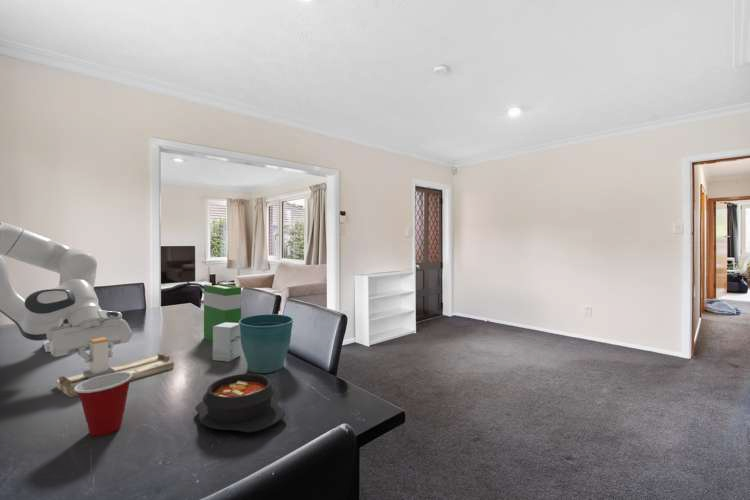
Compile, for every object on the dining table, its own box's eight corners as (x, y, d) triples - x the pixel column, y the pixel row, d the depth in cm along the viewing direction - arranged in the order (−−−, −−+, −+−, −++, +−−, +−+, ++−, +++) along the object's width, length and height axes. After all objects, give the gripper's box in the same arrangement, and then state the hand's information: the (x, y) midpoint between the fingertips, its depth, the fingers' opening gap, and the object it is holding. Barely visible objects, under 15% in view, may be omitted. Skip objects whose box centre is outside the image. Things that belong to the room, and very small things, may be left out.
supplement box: (230, 361, 128) (230, 327, 128) (211, 360, 130) (212, 326, 129) (241, 355, 135) (241, 322, 135) (224, 353, 137) (224, 321, 137)
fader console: (56, 386, 105) (55, 374, 105) (156, 360, 128) (156, 351, 128) (70, 397, 98) (69, 384, 98) (173, 368, 121) (173, 357, 121)
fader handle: (83, 375, 108) (83, 339, 107) (106, 369, 113) (106, 335, 112) (90, 380, 104) (90, 343, 104) (114, 373, 109) (114, 338, 109)
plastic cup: (96, 418, 87) (96, 370, 87) (142, 417, 88) (142, 370, 88) (61, 444, 76) (60, 389, 76) (114, 442, 77) (113, 388, 77)
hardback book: (203, 338, 157) (203, 284, 157) (219, 334, 163) (219, 283, 162) (224, 346, 146) (224, 288, 146) (240, 342, 152) (241, 287, 152)
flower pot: (302, 362, 129) (303, 316, 128) (272, 381, 112) (273, 328, 111) (261, 356, 135) (261, 312, 134) (226, 373, 118) (227, 322, 117)
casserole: (302, 415, 91) (302, 383, 90) (240, 452, 75) (240, 413, 75) (239, 391, 104) (239, 363, 104) (175, 418, 88) (175, 385, 88)
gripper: (46, 322, 103) (57, 362, 98) (126, 311, 120) (139, 345, 115) (42, 335, 106) (52, 374, 101) (121, 322, 123) (133, 356, 118)
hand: (99, 359), depth 108 cm, fingers closed on fader handle, 4 cm apart
